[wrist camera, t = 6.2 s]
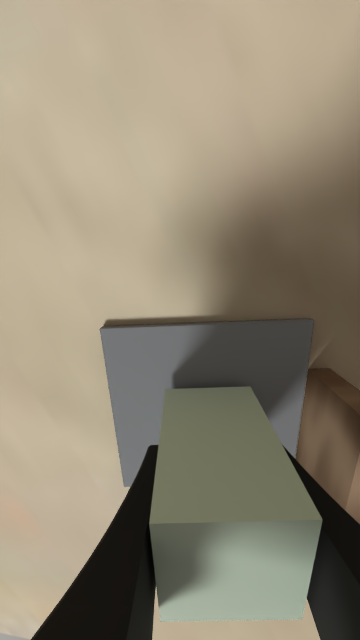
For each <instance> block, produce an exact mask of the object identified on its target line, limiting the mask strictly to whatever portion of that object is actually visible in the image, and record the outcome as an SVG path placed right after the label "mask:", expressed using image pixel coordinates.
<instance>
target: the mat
mask: <svg viewBox="0 0 360 640" xmlns="http://www.w3.org/2000/svg"><path fill="white" fill-rule="evenodd" d="M313 325H314V320H312V319H286V320H260V321H234V322H208V323H181V324H155V325H129V326H103V327H101V328H100V333H101V340H102V346H103V353H104V359H105V366H106V372H107V379H108V385H109V392H110V398H111V405H112V412H113V418H114V425H115V431H116V438H117V444H118V451H119V457H120V464H121V470H122V477H123V483H124V487H131V485H132V483H133V481H134V479H135V477H136V475H137V473H138V471H139V469H140V466H141V464H142V462H143V459H144V457H145V454H146V452H147V449H148V447H149V446H150V445H159V438H160V429H161V421H162V413H163V405H164V396H165V389H186V388H216V387H247V386H251V388H252V390H253V392H254V394H255V396H256V398H257V399H258V401H259V403H260V405H261V407H262V409H263V411H264V412H265V414H266V416H267V418H268V420H269V422H270V423H271V425H272V427H273V429H274V431H275V433H276V435H277V436H278V438H279V440H280V442H281V444H282V445H283V446H284V447H285V448H286V449H287V450H288V451H289V452H290V454H291V455H292V456H293V457H294V458H295V455H296V448H297V441H298V433H299V426H300V419H301V412H302V405H303V397H304V390H305V383H306V376H307V369H308V361H309V354H310V347H311V340H312V333H313Z"/></svg>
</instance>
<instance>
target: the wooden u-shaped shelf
mask: <svg viewBox="0 0 360 640" xmlns="http://www.w3.org/2000/svg"><path fill="white" fill-rule="evenodd" d="M296 460H297V461H298V462H299V463H300V465H301V466H302V467H303V468H304V469H305V470H306V471H307V472H308V473H309V474H310V475H311V476H312V477H313V478H314V480H315V481H316V482H317V483H318V484H319V485H320V486H321V487H322V488H323V489H324V490H325V491H326V492H327V493H328V494H329V495H330V496H331V497H332V498H333V499H334V500H335V501H336V502H337V503H338V504H339V505H340V506H341V507H342V508H343V509H344V510H345V511H346V512H347V513H348V514H350V515H351V516H352V517H353V518H354V519H355V520H356V521H357V522H358V523H359V524H360V391H359V390H358V389H356V388H355V387H354V386H352V385H351V384H350V383H348V382H347V381H346V380H344V379H343V378H342V377H340V376H339V375H338V374H336V373H335V372H334V371H332V370H331V369H308V374H307V382H306V389H305V396H304V403H303V410H302V417H301V424H300V432H299V439H298V446H297V453H296Z"/></svg>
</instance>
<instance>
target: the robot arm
mask: <svg viewBox="0 0 360 640" xmlns="http://www.w3.org/2000/svg"><path fill="white" fill-rule="evenodd" d="M158 446H159V445H150V446H149V447H148V449H147V452H146V454H145V457H144V459H143V462H142V464H141V466H140V469H139V471H138V473H137V475H136V477H135V479H134V481H133V483H132V485H131V487H130V489H129V491H128V493H127V495H126V497H125V499H124V501H123V503H122V505H121V506H120V508H119V510H118V512H117V514H116V515H115V517H114V519H113V521H112V522H111V524H110V526H109V528H108V529H107V531H106V533H105V534H104V536H103V537H102V539H101V541H100V542H99V544H98V545H97V547H96V549H95V550H94V552H93V553H92V555H91V556H90V558H89V559H88V561H87V562H86V564H85V565H84V567H83V568H82V570H81V571H80V573H79V574H78V576H77V577H76V579H75V580H74V582H73V583H72V585H71V586H70V587H69V589H68V590H67V592H66V593H65V594H64V596H63V597H62V599H61V600H60V601H59V603H58V604H57V605H56V607H55V608H54V609H53V611H52V612H51V613H50V615H49V616H48V617H47V619H46V620H45V621H44V623H43V624H42V625H41V627H40V628H39V629H38V631H37V632H36V633H35V635H34V636H33V637H32V639H31V640H152V631H153V615H154V599H155V589H156V578H155V570H154V561H153V553H152V544H151V535H150V527H149V521H150V513H151V504H152V496H153V488H154V479H155V471H156V463H157V454H158ZM282 446H283V445H282ZM283 448H284V449H285V451H286V453H287V455H288V457H289V459H290V460H291V462H292V464H293V466H294V468H295V470H296V472H297V473H298V475H299V477H300V479H301V481H302V483H303V485H304V486H305V488H306V490H307V492H308V494H309V496H310V497H311V499H312V501H313V503H314V505H315V507H316V509H317V510H318V512H319V514H320V516H321V518H322V525H321V530H320V535H319V540H318V545H317V550H316V555H315V559H314V564H313V569H312V574H311V579H310V584H309V589H308V594H307V600H308V603H309V606H310V609H311V612H312V615H313V618H314V621H315V624H316V627H317V630H318V633H319V636H320V639H321V640H360V524H359V523H358V522H357V521H356V520H355V519H354V518H353V517H352V516H351V515H350V514H348V513H347V512H346V511H345V510H344V509H343V508H342V507H341V506H340V505H339V504H338V503H337V502H336V501H335V500H334V499H333V498H332V497H331V496H330V495H329V494H328V493H327V492H326V491H325V490H324V489H323V488H322V487H321V486H320V485H319V484H318V483H317V482H316V481H315V480H314V478H313V477H312V476H311V475H310V474H309V473H308V472H307V471H306V470H305V469H304V468H303V467H302V466H301V465H300V463H299V462H298V461H297V460H296V459H295V458H294V457H293V456H292V455H291V454H290V452H289V451H288V450H287V449H286V448H285V447H284V446H283Z"/></svg>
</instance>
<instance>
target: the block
mask: <svg viewBox="0 0 360 640" xmlns="http://www.w3.org/2000/svg"><path fill="white" fill-rule="evenodd" d="M321 525H322V518H321V516H320V514H319V512H318V510H317V509H316V507H315V505H314V503H313V501H312V499H311V497H310V496H309V494H308V492H307V490H306V488H305V486H304V485H303V483H302V481H301V479H300V477H299V475H298V473H297V472H296V470H295V468H294V466H293V464H292V462H291V460H290V459H289V457H288V455H287V453H286V451H285V449H284V448H283V446H282V444H281V442H280V440H279V438H278V436H277V435H276V433H275V431H274V429H273V427H272V425H271V423H270V422H269V420H268V418H267V416H266V414H265V412H264V411H263V409H262V407H261V405H260V403H259V401H258V399H257V398H256V396H255V394H254V392H253V390H252V388H251V386H247V387H216V388H186V389H165V396H164V405H163V413H162V421H161V429H160V438H159V446H158V454H157V463H156V471H155V479H154V488H153V496H152V504H151V513H150V521H149V527H150V535H151V544H152V553H153V561H154V570H155V578H156V587H157V596H158V604H159V613H160V622H168V621H234V620H299V619H302V618H303V613H304V608H305V603H306V598H307V594H308V589H309V584H310V579H311V574H312V569H313V564H314V559H315V555H316V550H317V545H318V540H319V535H320V530H321Z"/></svg>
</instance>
